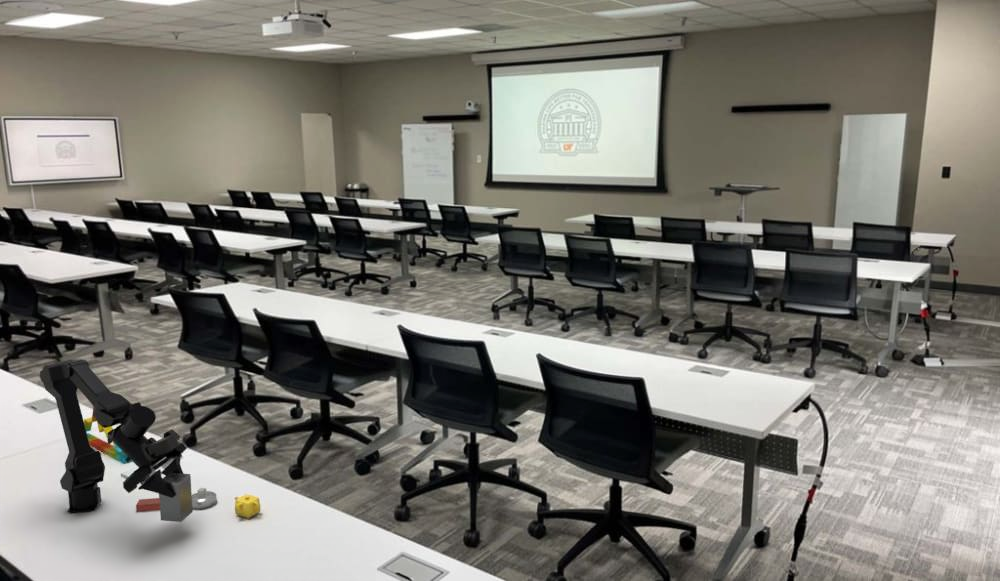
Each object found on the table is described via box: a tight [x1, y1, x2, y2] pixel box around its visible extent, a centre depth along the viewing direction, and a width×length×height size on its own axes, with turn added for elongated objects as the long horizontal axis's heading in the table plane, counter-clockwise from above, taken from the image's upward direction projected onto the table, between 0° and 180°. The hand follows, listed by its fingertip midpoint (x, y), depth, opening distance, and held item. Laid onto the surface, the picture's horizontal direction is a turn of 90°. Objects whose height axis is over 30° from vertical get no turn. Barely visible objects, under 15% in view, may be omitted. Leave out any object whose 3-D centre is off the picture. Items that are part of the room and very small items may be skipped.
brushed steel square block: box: [158, 473, 194, 523], centre depth 177 cm, size 5×5×10 cm
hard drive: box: [120, 467, 164, 480], centre depth 214 cm, size 2×8×12 cm
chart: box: [83, 407, 134, 465], centre depth 229 cm, size 30×3×15 cm, turn 52°
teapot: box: [234, 493, 261, 520], centre depth 189 cm, size 8×6×5 cm
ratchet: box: [135, 487, 218, 513], centre depth 193 cm, size 20×7×4 cm, turn 102°
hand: (180, 491), depth 177 cm, fingers closed on brushed steel square block, 5 cm apart
